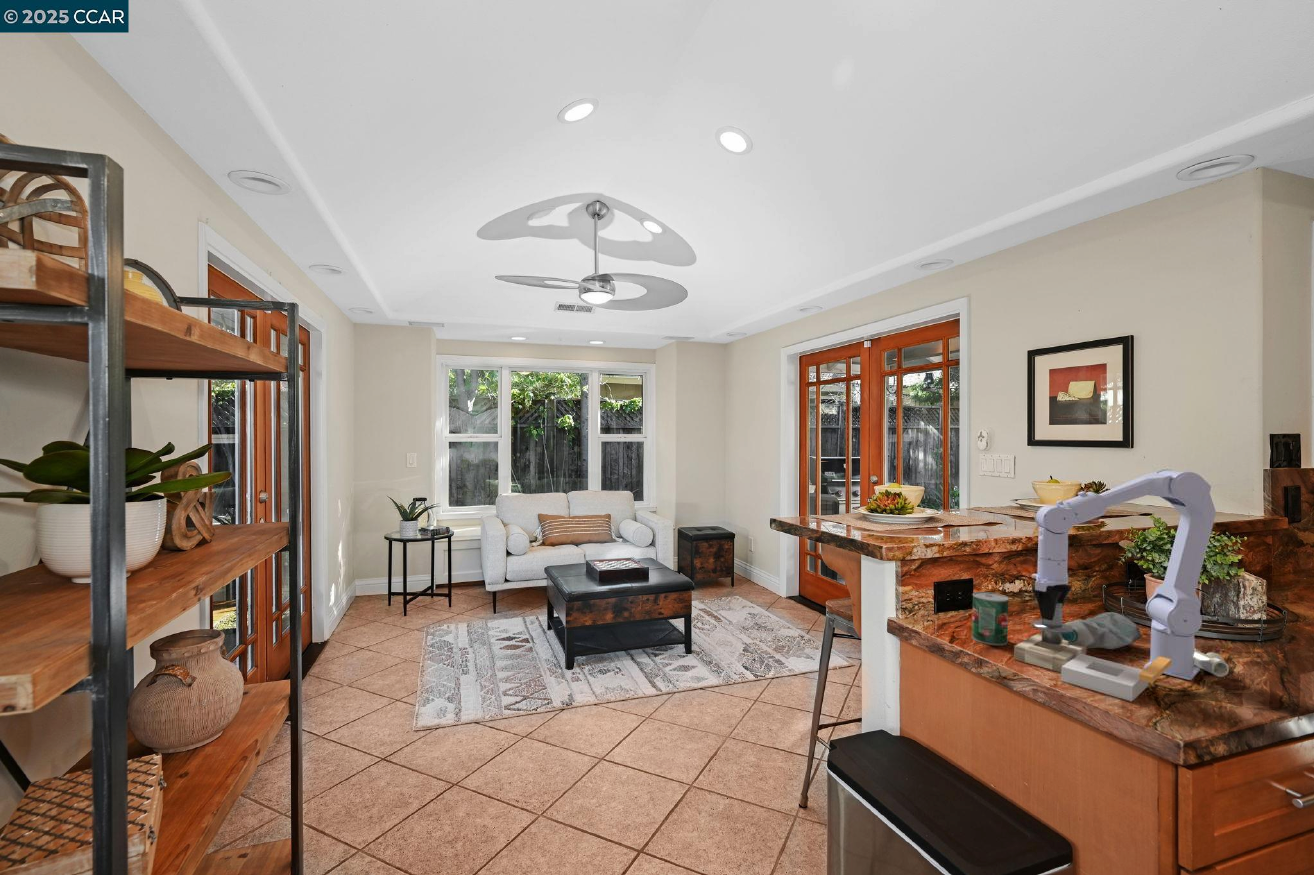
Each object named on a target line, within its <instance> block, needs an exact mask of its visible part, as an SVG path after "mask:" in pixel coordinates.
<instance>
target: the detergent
mask: <svg viewBox="0 0 1314 875" xmlns="http://www.w3.org/2000/svg"><path fill="white" fill-rule="evenodd" d="M1064 624H1066V625H1069V626H1071V627H1072V628H1073V632H1071V633H1062V640H1065V641H1068V642H1073V643H1077V644H1081V645H1086V650H1087V649H1095V648H1102V649H1106V650H1115V649H1119V648H1122V647H1125V646H1128V645H1129V646H1130V645H1131V644H1133V643H1135V642H1136V641H1138V640H1140V639H1142V638H1143V635H1142V634H1141V631H1140V629H1139V626H1138V625H1137V624H1136V623H1135V621H1133V620H1132V619H1130V618H1128V617H1127V616H1125V615H1123V614H1120V613H1118V612H1113V611H1112V612H1111V611H1109V612H1103V613H1100V614H1098V615H1096V616H1094V617H1089V618H1086V619H1075V620H1073V621H1072V620H1071V621H1067V622H1066V623H1064Z"/></svg>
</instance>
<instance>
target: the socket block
mask: <svg viewBox="0 0 1314 875" xmlns="http://www.w3.org/2000/svg"><path fill="white" fill-rule="evenodd" d="M1143 670H1144V669H1141V668H1139V667H1134V666H1130V665H1127V664H1123V663H1118V662H1114V661H1111V660H1106V659H1102V658H1098V657H1095V656H1091V655H1087V654H1086V655H1084V654H1080V655H1078V656H1077V657H1075V658H1074V659H1072V660H1071V661H1069V662H1068V663H1066V664H1065V665H1063V666H1062V667H1061V672H1060V674H1061V675H1060V676H1061V677H1060V681H1061V682H1064V683H1067V684H1069V685H1075V686H1078V687H1080V688H1084V689H1088V690H1090V691H1091V690H1092V691H1095V692H1098V693H1102V694H1105V695H1109V696H1112V697H1115V698H1119V699H1122V700H1125V701H1129V702H1133V701H1134V700H1135V699H1136V698H1138V696H1139V695H1141V693H1142V692H1143V691H1145V689H1147V687H1148V686H1149V682H1145V681H1142V680H1139V674H1140V673H1141V672H1142V671H1143Z"/></svg>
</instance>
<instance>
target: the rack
mask: <svg viewBox="0 0 1314 875" xmlns="http://www.w3.org/2000/svg"><path fill="white" fill-rule="evenodd" d="M1080 654H1084V655H1087V649H1086V645H1081V644H1077V643H1073V642H1068V641H1065V640H1064V639H1062V644H1060V645H1056V644H1049V643H1045V642H1043V641H1042V640H1041V634H1040V633H1036V634H1035V635H1033V636H1030V637H1029V638H1027V639H1025V640H1022V641H1021V642H1020V643H1018V644H1015V645H1014V646H1013V660H1015V661H1016V660H1017V661H1019V662H1023V663H1026V664H1030V665H1034V666H1037V667H1041V668H1044V669H1048V670H1051V671H1053V672H1054V671H1055V672H1057V673H1061V667H1062V666H1063V665H1065V664H1066V663H1068V662H1069V661H1071V660H1072V659H1074V658H1075V657H1077V656H1078V655H1080Z"/></svg>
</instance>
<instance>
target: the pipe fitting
mask: <svg viewBox="0 0 1314 875" xmlns="http://www.w3.org/2000/svg"><path fill="white" fill-rule="evenodd" d="M1229 666H1230V665H1229V664H1228V663H1226V662H1225V659H1224V658H1223V657H1222V656H1221V655H1220V654H1219V653H1217V652H1212V651H1211V652H1207V653H1204V652H1202V651H1200V650H1198V649H1197V648H1195V658H1194V667H1198V668H1200V670H1201V669H1202V670H1203V671H1206V672H1207V673H1209V674H1211V675H1213V676H1214V677H1217V678H1223V677H1226V676H1227V675H1228V674H1229V670H1230V669H1229V668H1230V667H1229Z"/></svg>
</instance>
